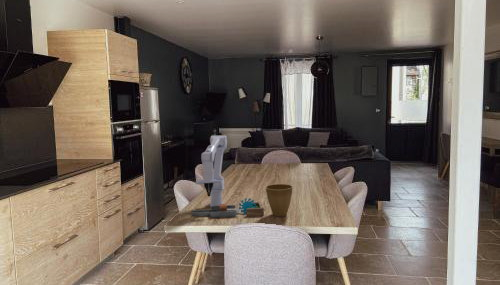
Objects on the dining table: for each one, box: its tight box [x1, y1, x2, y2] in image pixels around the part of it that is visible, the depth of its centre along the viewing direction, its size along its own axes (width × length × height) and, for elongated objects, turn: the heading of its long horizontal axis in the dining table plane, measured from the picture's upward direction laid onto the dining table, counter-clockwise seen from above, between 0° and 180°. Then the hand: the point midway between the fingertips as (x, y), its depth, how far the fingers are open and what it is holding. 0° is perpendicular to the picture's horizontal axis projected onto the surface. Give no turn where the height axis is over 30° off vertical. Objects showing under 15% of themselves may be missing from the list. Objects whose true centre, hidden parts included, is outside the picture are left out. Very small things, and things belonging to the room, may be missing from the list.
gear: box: [238, 197, 258, 215], centre depth 216 cm, size 11×6×10 cm
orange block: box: [220, 202, 240, 215], centre depth 214 cm, size 4×11×5 cm, turn 95°
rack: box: [246, 201, 265, 217], centre depth 215 cm, size 14×10×4 cm
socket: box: [190, 204, 237, 219], centre depth 213 cm, size 14×25×3 cm, turn 95°
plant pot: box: [265, 183, 293, 217], centre depth 209 cm, size 15×15×16 cm
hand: (209, 196), depth 217 cm, fingers closed
